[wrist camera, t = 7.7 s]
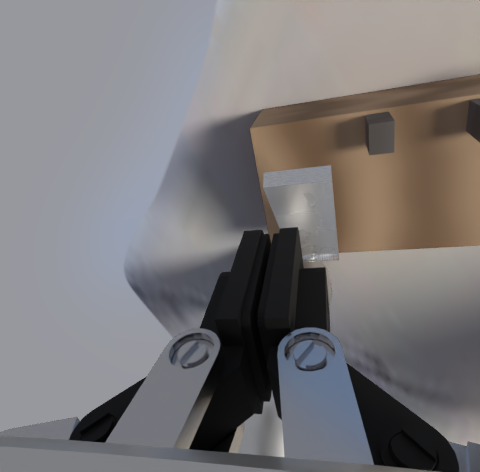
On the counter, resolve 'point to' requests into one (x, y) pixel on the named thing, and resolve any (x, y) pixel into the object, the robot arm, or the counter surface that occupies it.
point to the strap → (306, 208)
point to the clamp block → (386, 162)
